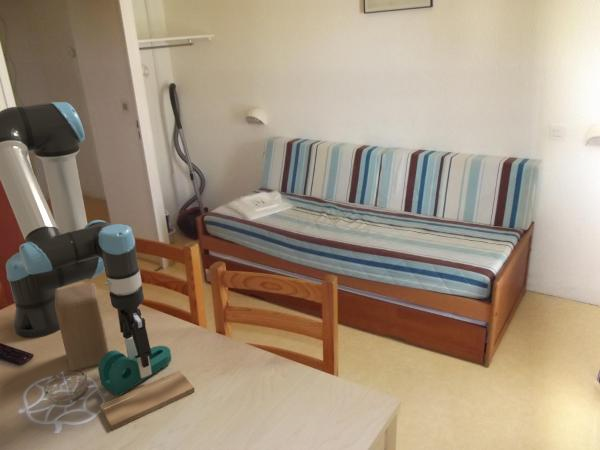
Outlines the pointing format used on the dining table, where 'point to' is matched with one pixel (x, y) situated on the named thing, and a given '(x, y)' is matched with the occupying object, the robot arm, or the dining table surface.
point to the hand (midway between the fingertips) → (139, 367)
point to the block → (81, 325)
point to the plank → (146, 399)
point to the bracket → (128, 369)
